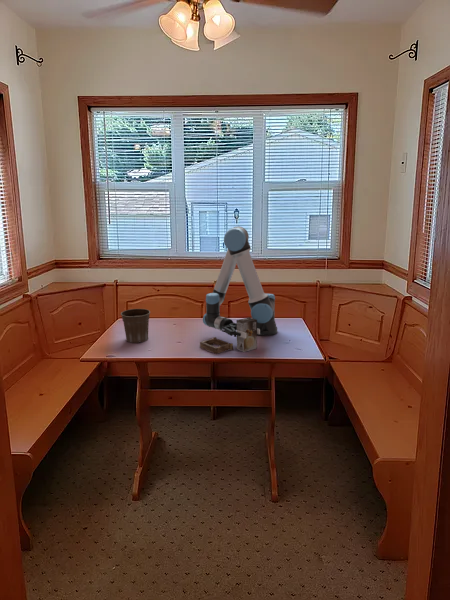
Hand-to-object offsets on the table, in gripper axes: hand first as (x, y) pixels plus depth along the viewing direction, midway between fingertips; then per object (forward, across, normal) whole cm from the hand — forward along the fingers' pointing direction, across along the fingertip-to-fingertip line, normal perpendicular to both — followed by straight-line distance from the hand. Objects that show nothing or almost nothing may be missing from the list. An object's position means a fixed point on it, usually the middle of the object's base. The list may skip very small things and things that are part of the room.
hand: (252, 333), depth 227 cm
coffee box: (-4, 0, -10) cm, 11 cm away
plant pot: (-57, +35, -10) cm, 68 cm away
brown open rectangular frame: (-16, +12, -10) cm, 22 cm away
